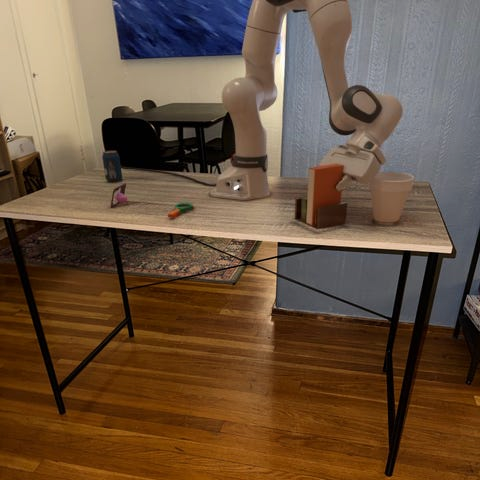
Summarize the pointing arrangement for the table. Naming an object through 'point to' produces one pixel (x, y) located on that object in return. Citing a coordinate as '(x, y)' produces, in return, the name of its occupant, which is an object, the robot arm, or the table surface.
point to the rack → (321, 214)
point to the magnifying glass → (180, 209)
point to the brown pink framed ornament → (119, 195)
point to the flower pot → (389, 195)
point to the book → (322, 189)
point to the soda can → (112, 166)
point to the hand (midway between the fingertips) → (331, 188)
